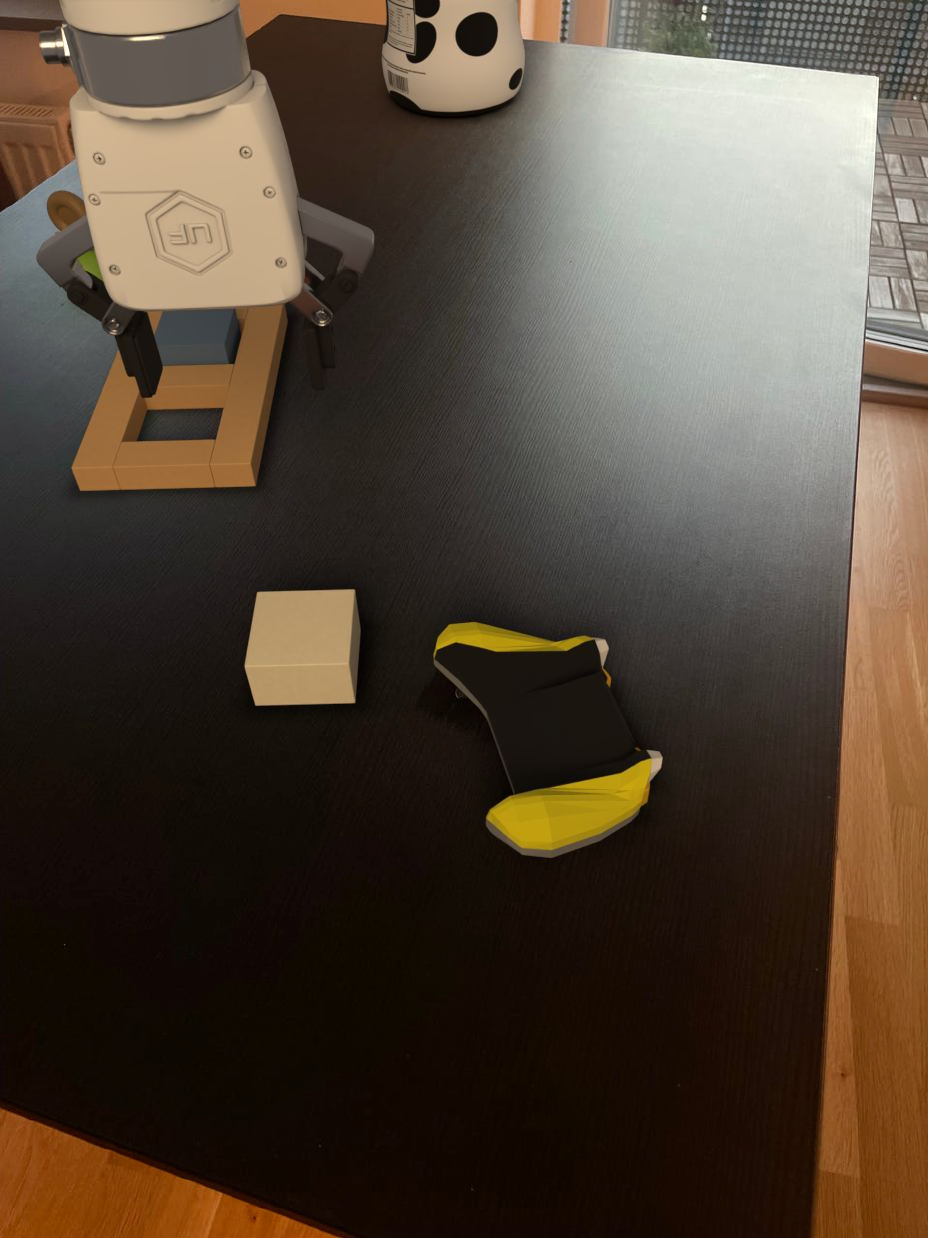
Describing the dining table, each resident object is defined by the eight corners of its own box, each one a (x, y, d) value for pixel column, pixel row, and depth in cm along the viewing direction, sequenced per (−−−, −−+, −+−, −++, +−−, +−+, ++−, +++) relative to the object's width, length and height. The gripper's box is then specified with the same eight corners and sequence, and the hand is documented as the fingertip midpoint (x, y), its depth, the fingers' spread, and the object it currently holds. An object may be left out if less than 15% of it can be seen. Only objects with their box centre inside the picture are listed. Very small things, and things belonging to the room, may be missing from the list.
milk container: (535, 80, 128) (540, -87, 115) (508, 134, 117) (511, -45, 104) (406, 72, 131) (396, -92, 118) (367, 123, 120) (352, -52, 107)
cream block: (256, 709, 60) (244, 666, 57) (267, 635, 64) (257, 591, 61) (356, 706, 60) (349, 663, 57) (361, 632, 64) (355, 588, 61)
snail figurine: (118, 323, 90) (78, 191, 81) (58, 313, 91) (12, 182, 83) (150, 294, 93) (115, 164, 85) (91, 284, 95) (50, 155, 86)
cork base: (81, 494, 74) (70, 467, 72) (143, 328, 89) (136, 302, 87) (256, 490, 74) (250, 463, 72) (288, 324, 89) (284, 298, 87)
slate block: (161, 388, 83) (149, 346, 80) (174, 348, 87) (163, 307, 84) (233, 386, 83) (224, 343, 80) (243, 347, 87) (234, 305, 84)
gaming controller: (496, 895, 51) (677, 848, 53) (497, 840, 47) (693, 791, 49) (428, 678, 61) (582, 644, 63) (424, 617, 57) (588, 582, 59)
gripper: (-56, 93, 42) (71, 426, 55) (352, 76, 42) (385, 412, 55) (-6, 35, 47) (100, 351, 60) (358, 20, 47) (387, 339, 60)
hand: (236, 380), depth 57 cm, fingers open, 9 cm apart
